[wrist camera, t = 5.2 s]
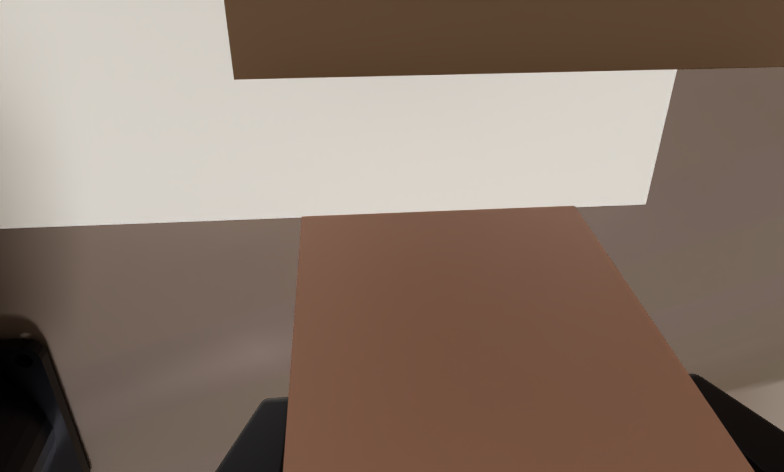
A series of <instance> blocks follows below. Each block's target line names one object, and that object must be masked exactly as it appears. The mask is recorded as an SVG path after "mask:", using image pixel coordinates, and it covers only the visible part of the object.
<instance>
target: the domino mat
mask: <svg viewBox="0 0 784 472" xmlns="http://www.w3.org/2000/svg"><path fill="white" fill-rule="evenodd" d="M676 72H677V69H674V70H631V71H587V72H544V73H501V74H457V75H414V76H371V77H328V78H284V79H241V80H234V76H233V68H232V60H231V53H230V45H229V37H228V29H227V21H226V13H225V6H224V0H0V229H5V228H31V227H58V226H84V225H111V224H137V223H164V222H191V221H217V220H244V219H270V218H297V217H302V216H325V215H350V214H375V213H401V212H426V211H452V210H477V209H502V208H528V207H553V206H575V207H588V206H615V205H641V204H646V201H647V196H648V192H649V188H650V183H651V179H652V175H653V171H654V166H655V162H656V158H657V153H658V149H659V145H660V140H661V136H662V132H663V128H664V123H665V119H666V115H667V110H668V106H669V102H670V97H671V93H672V89H673V85H674V80H675V76H676Z"/></svg>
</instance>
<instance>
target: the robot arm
mask: <svg viewBox="0 0 784 472" xmlns="http://www.w3.org/2000/svg"><path fill="white" fill-rule="evenodd" d="M22 354H23V355H27V356H29V357H31V358H26V357H24V356H23V355H22ZM689 375H690V377H691V378H692V380H693V381H694V383H695V384H696V386H697V387H698V389H699V390H700V392H701V393H702V395H703V396H704V398H705V399H706V401H707V402H708V403H709V405H710V406H711V408H712V409H713V411H714V412H715V414H716V415H717V417H718V418H719V420H720V421H721V423H722V424H723V426H724V427H725V429H726V430H727V432H728V433H729V434H730V436H731V437H732V439H733V440H734V442H735V443H736V445H737V446H738V448H739V449H740V451H741V452H742V454H743V455H744V457H745V458H746V460H747V461H748V463H749V464H750V465H751V467H752V468H753V470H754V471H755V472H784V432H783V431H782V430H780V429H779V428H777V427H776V426H774V425H773V424H771V423H770V422H768V421H767V420H765V419H764V418H762V417H761V416H759V415H758V414H756V413H755V412H753V411H752V410H750V409H749V408H747V407H746V406H744V405H743V404H741V403H740V402H738V401H737V400H735V399H734V398H732V397H731V396H729V395H728V394H726V393H725V392H723V391H722V390H720V389H719V388H717V387H716V386H714V385H713V384H711V383H710V382H708V381H707V380H705V379H704V378H702V377H701V376H699V375H696V374H689ZM287 410H288V397H282V398H267V399H265V400H263V401H262V402H261V403H260V405H259V406H258V408H257V409H256V411H255V412H254V414H253V415H252V417H251V418H250V420H249V421H248V423H247V424H246V426H245V428H244V429H243V431H242V432H241V434H240V435H239V437H238V438H237V440H236V441H235V443H234V444H233V446H232V447H231V449H230V450H229V452H228V453H227V455H226V456H225V458H224V459H223V461H222V462H221V464H220V465H219V467H218V468H217V470H216V471H215V472H283V464H284V451H285V437H286V424H287ZM0 472H90V469H89V466H88V464H87V461H86V458H85V455H84V453H83V450H82V447H81V444H80V441H79V439H78V436H77V433H76V430H75V428H74V425H73V422H72V419H71V417H70V414H69V411H68V408H67V405H66V403H65V400H64V397H63V394H62V392H61V389H60V386H59V383H58V380H57V378H56V375H55V372H54V369H53V367H52V364H51V361H50V358H49V356H48V353H47V350H46V349H45V347H44V346H43V345H42V344H40V343H39V342H37V341H34V340H32V339H8V340H0Z"/></svg>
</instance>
